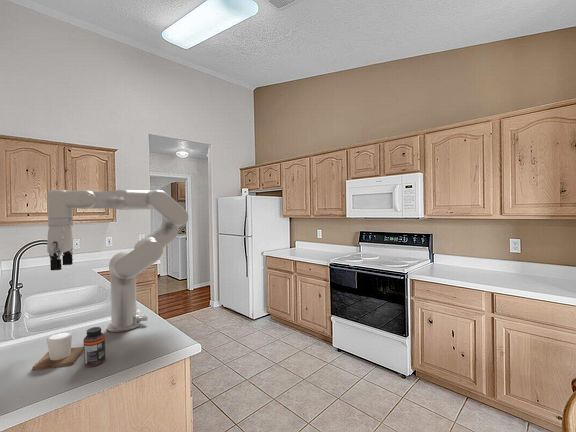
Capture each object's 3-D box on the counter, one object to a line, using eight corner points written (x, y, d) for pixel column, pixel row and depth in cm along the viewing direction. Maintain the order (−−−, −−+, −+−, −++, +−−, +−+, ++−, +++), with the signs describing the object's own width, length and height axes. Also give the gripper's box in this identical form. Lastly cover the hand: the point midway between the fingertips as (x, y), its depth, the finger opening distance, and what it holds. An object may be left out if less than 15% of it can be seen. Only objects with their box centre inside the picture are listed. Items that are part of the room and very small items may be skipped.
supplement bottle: (91, 358, 101) (90, 325, 101) (109, 357, 101) (108, 325, 101) (80, 368, 95) (78, 333, 95) (99, 367, 96) (98, 332, 95)
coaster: (85, 349, 107) (85, 346, 107) (72, 364, 97) (72, 361, 97) (49, 353, 104) (49, 350, 104) (32, 370, 94) (32, 366, 94)
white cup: (77, 350, 104) (77, 330, 104) (63, 360, 97) (63, 339, 97) (57, 351, 104) (56, 331, 103) (42, 361, 97) (41, 340, 97)
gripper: (59, 221, 120) (60, 263, 121) (36, 224, 104) (38, 273, 104) (80, 221, 122) (82, 262, 123) (62, 223, 106) (63, 271, 106)
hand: (62, 267), depth 114 cm, fingers open, 9 cm apart
